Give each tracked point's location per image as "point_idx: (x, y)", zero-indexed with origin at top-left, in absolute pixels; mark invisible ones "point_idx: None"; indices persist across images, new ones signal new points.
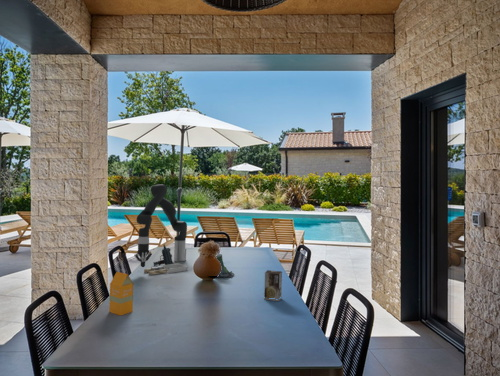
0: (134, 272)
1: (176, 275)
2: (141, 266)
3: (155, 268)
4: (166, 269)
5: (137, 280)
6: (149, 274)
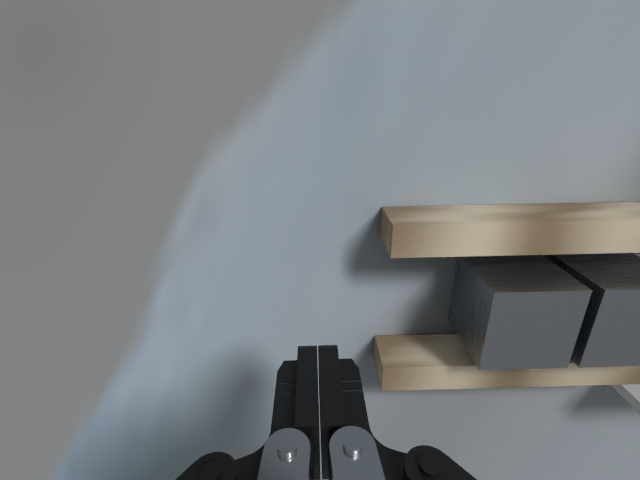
0: (258, 119)
1: (584, 475)
2: (298, 353)
3: (511, 363)
4: (633, 382)
5: (176, 461)
6: (375, 357)
